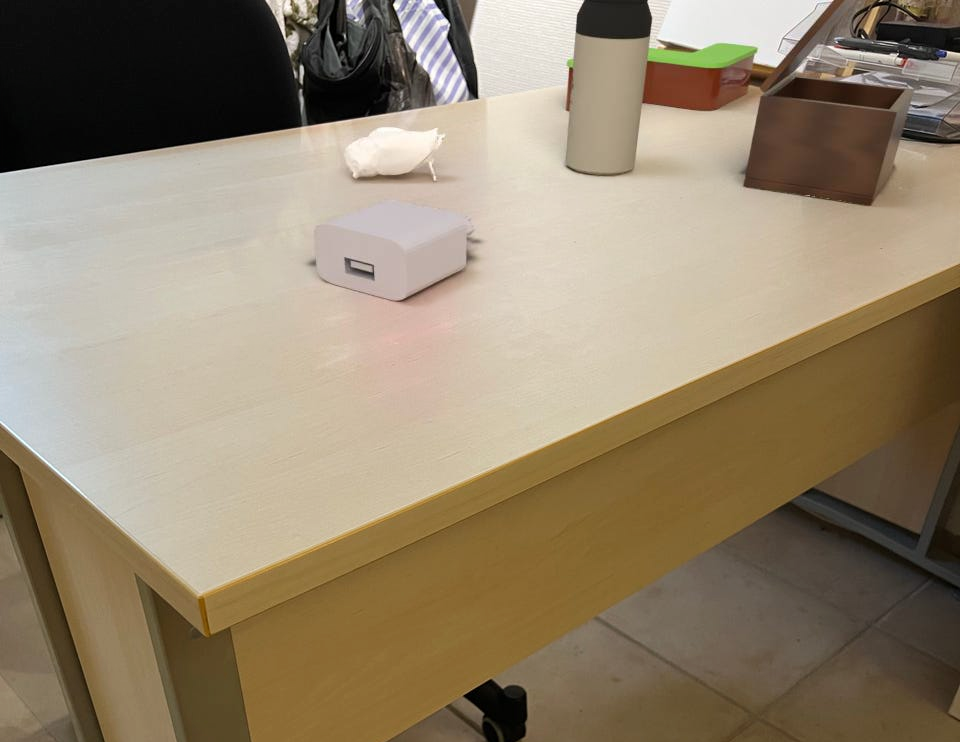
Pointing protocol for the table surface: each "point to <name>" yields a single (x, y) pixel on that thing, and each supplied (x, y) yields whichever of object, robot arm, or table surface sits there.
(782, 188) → the chest
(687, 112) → the table surface
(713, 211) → the table surface
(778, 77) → the lid
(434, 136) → the bird figurine
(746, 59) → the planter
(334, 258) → the charger
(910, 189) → the table surface
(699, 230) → the table surface
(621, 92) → the travel mug
